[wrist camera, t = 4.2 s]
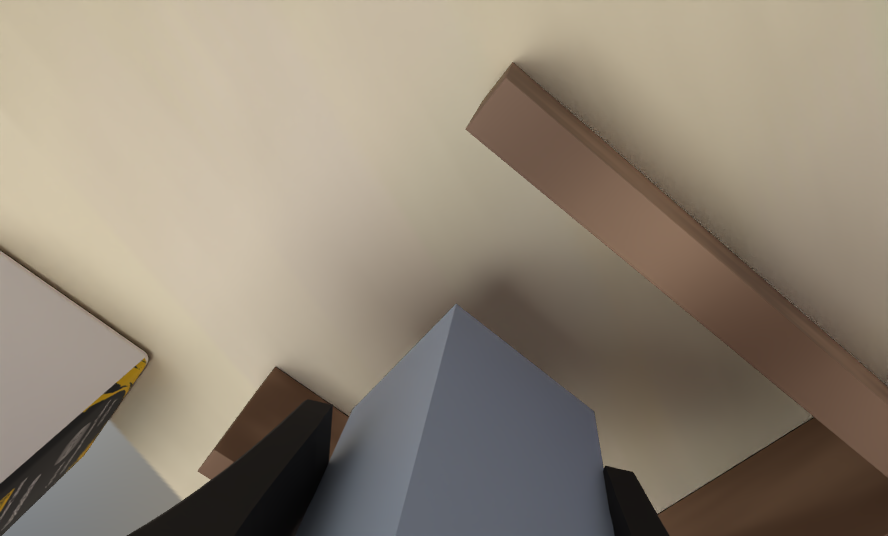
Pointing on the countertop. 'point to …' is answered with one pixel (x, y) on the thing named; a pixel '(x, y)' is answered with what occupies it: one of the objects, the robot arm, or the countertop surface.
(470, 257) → the countertop surface
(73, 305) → the medicine bottle
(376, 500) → the blue block
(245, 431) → the walnut bay
